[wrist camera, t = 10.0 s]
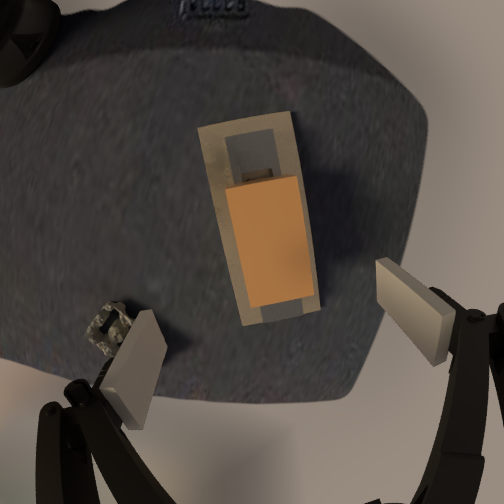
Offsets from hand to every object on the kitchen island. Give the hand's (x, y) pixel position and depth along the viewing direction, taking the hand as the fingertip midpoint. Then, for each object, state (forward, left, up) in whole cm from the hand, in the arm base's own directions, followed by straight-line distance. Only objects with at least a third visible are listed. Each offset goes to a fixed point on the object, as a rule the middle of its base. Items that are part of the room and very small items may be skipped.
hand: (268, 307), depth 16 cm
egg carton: (+11, -19, -18) cm, 29 cm away
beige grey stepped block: (-1, +1, -18) cm, 18 cm away
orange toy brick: (0, +1, -17) cm, 17 cm away
